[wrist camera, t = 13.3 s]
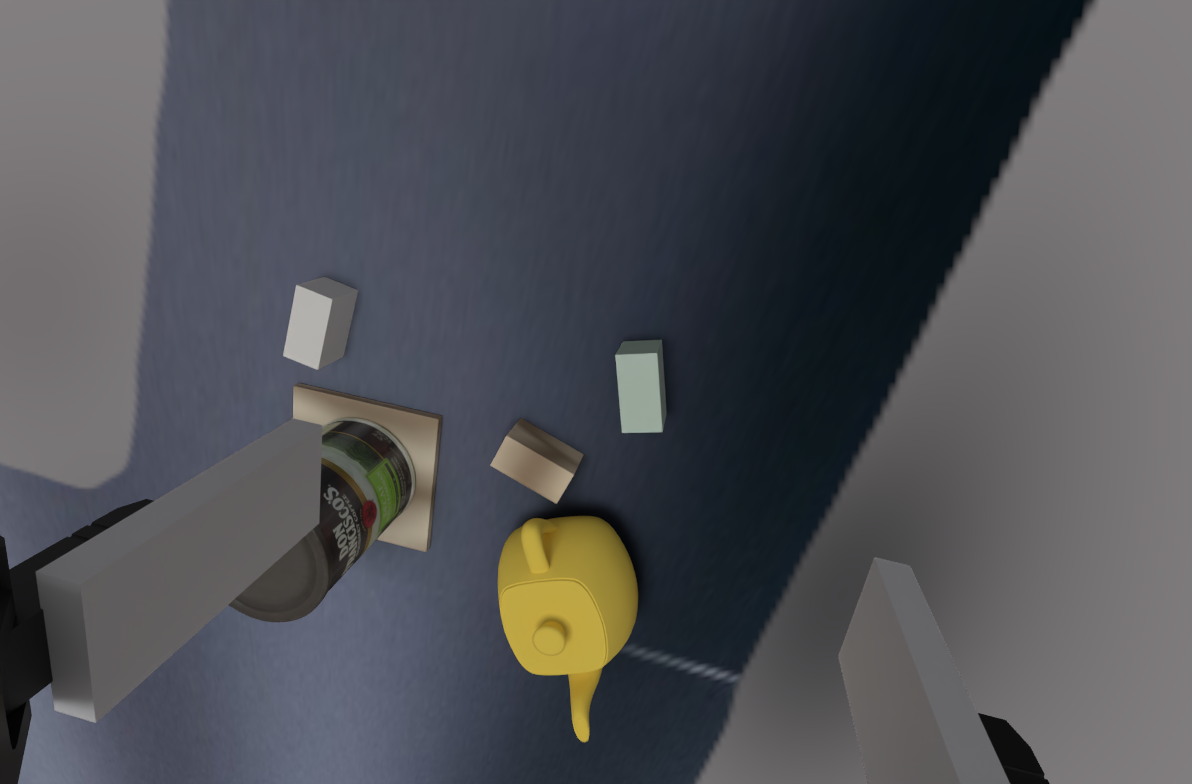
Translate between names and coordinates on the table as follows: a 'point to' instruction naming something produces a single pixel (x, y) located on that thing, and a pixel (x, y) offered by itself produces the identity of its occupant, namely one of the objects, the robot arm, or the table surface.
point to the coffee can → (337, 519)
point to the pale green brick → (641, 386)
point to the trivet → (414, 434)
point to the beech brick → (537, 460)
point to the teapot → (567, 602)
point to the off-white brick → (320, 322)
